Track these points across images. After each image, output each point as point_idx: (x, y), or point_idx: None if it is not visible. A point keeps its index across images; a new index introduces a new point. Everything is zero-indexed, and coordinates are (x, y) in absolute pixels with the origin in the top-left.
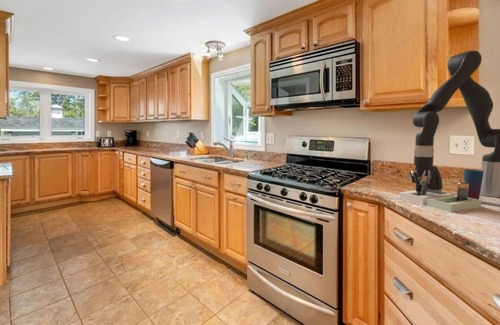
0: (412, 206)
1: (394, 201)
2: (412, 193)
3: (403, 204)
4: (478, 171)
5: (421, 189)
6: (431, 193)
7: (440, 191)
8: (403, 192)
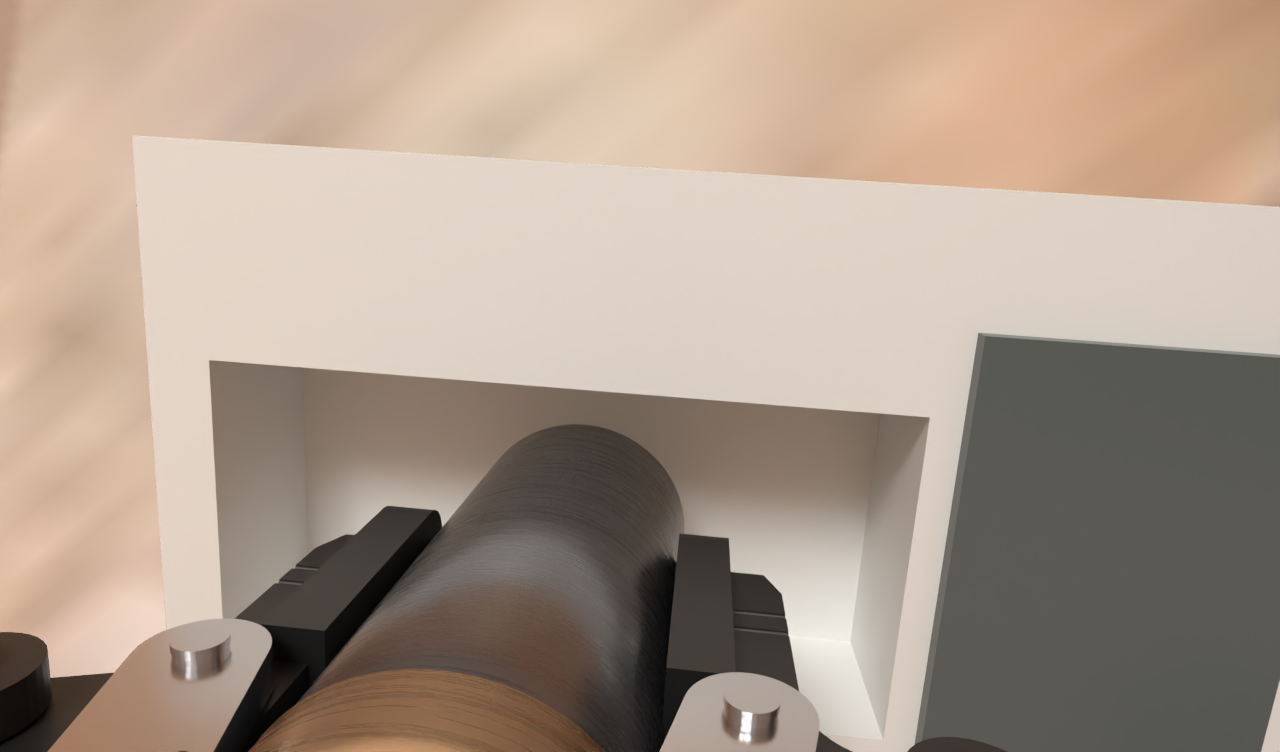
0: (70, 647)
1: (15, 227)
2: (410, 371)
3: (17, 481)
4: None
5: None
6: (893, 622)
7: (1266, 697)
8: (199, 213)
